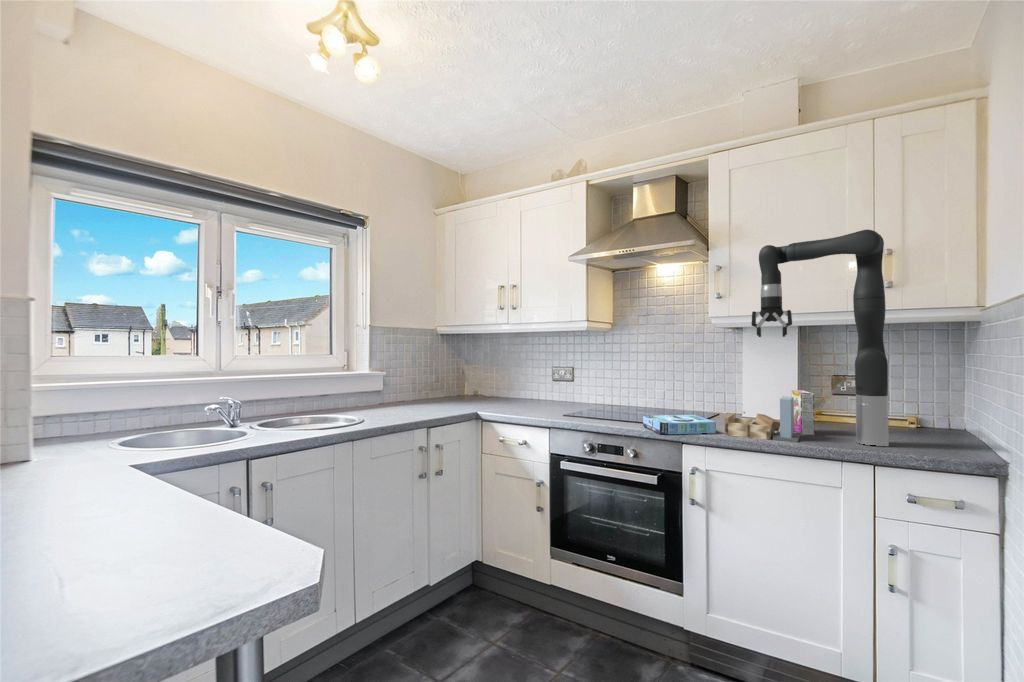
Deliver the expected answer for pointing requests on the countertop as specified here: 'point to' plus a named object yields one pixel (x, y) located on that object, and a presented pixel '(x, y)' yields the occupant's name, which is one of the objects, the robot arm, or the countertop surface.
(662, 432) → the gum box
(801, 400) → the candy bar box
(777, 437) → the mat
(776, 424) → the offcut upper
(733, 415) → the rack
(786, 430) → the tall pale blue pillar
